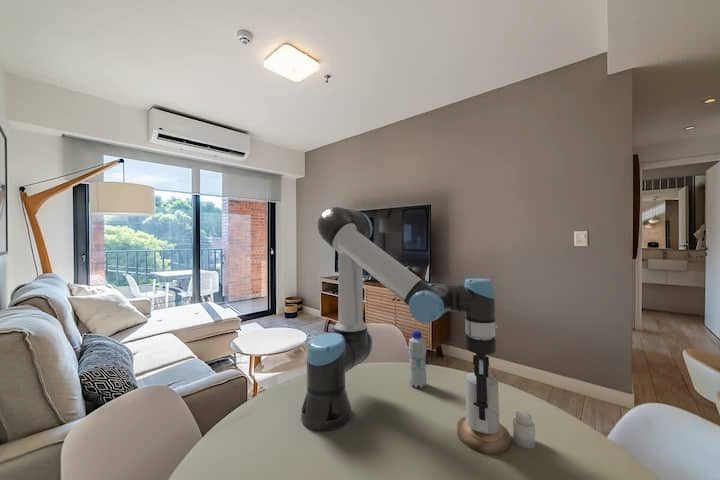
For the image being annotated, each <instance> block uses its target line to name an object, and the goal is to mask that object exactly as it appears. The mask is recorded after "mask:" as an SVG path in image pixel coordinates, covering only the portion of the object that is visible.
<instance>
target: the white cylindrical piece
mask: <svg viewBox="0 0 720 480" xmlns="http://www.w3.org/2000/svg"><path fill="white" fill-rule="evenodd" d="M499 400H500V399H499V380H498V379H497V377H495V376H493V375H491V374H489V373H488V377H487V404H488V433H487V432H482V431H478V430H477V421H476V405H474V402H475V403H476V401H477V393H476V376H475V375H474V371H473V372H469V373H467V374H466V375H465V415H466V416H465V417H466V422H467V424H468V426H469V427H471V428H472V429H473V430H475V431H478V432H481V433H485V434H493V433H496V432H498V430H499V423H500V407H499V406H500V405H499Z"/></svg>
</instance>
